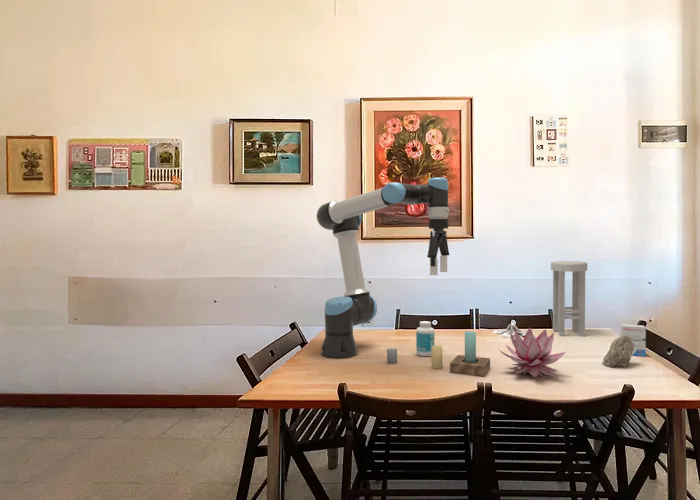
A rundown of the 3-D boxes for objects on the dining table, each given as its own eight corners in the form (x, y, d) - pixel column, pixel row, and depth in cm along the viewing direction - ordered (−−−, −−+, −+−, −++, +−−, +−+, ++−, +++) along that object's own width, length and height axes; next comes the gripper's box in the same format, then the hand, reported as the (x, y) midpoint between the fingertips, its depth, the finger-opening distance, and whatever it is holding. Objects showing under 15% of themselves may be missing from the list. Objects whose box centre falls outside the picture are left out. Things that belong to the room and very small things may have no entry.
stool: (547, 330, 238) (547, 261, 236) (579, 330, 236) (580, 260, 234) (556, 336, 222) (556, 263, 221) (591, 337, 220) (591, 263, 219)
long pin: (463, 370, 172) (463, 332, 171) (466, 367, 175) (466, 330, 175) (474, 372, 170) (474, 333, 169) (477, 369, 174) (476, 331, 173)
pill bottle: (434, 357, 191) (434, 324, 190) (415, 356, 192) (415, 323, 192) (434, 352, 198) (434, 320, 198) (417, 351, 200) (416, 320, 199)
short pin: (385, 363, 183) (385, 350, 183) (389, 360, 187) (389, 348, 187) (395, 364, 182) (394, 351, 181) (398, 361, 185) (398, 349, 185)
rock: (627, 354, 167) (604, 343, 173) (619, 377, 172) (597, 366, 177) (642, 340, 175) (620, 330, 181) (634, 362, 180) (612, 352, 185)
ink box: (643, 353, 191) (644, 325, 191) (645, 356, 187) (646, 327, 186) (619, 351, 195) (620, 323, 194) (621, 354, 190) (621, 325, 190)
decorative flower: (559, 387, 153) (559, 341, 152) (493, 377, 164) (492, 334, 164) (568, 369, 171) (568, 328, 170) (508, 362, 182) (508, 323, 182)
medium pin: (430, 368, 175) (430, 347, 175) (433, 365, 179) (433, 344, 179) (440, 369, 174) (440, 348, 173) (443, 366, 177) (443, 345, 177)
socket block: (450, 372, 170) (449, 362, 170) (458, 363, 181) (458, 354, 181) (483, 376, 165) (483, 366, 164) (490, 367, 175) (490, 358, 175)
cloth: (543, 338, 222) (543, 325, 222) (508, 341, 218) (508, 328, 218) (516, 329, 244) (516, 317, 244) (483, 331, 239) (483, 319, 239)
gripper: (438, 217, 168) (439, 276, 169) (456, 218, 190) (456, 271, 191) (418, 218, 171) (419, 276, 172) (438, 219, 193) (438, 270, 194)
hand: (438, 273), depth 182 cm, fingers open, 13 cm apart
